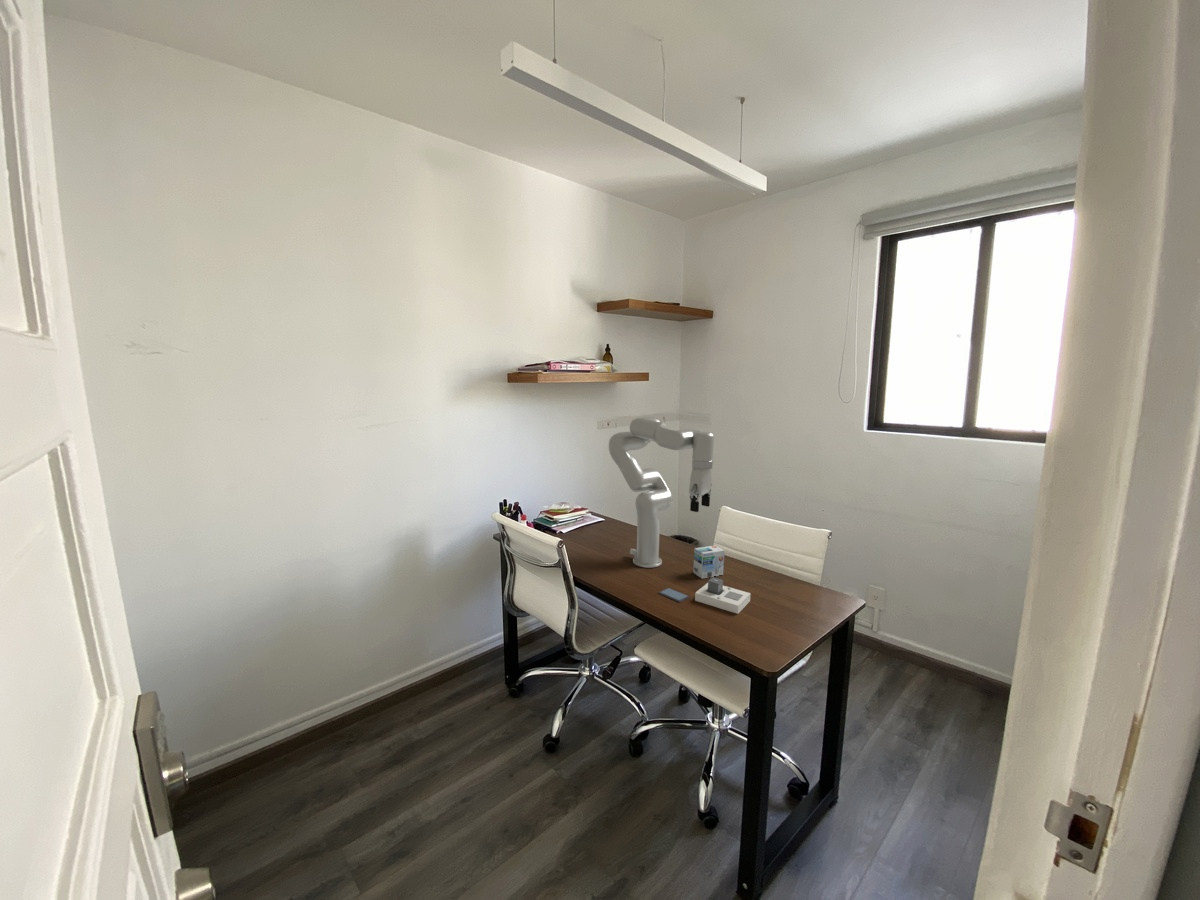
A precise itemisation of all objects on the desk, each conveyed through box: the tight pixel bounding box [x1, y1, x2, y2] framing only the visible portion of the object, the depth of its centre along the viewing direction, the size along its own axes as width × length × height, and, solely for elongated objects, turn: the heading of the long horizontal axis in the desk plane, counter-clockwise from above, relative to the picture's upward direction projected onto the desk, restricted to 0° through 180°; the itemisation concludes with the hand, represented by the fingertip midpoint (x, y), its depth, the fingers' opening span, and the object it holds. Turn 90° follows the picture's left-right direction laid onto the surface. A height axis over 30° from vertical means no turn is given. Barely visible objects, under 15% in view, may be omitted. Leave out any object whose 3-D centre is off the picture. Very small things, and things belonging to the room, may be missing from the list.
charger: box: [707, 577, 724, 595], centre depth 174 cm, size 4×4×7 cm
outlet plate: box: [694, 582, 751, 614], centre depth 173 cm, size 16×12×3 cm
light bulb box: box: [692, 544, 725, 579], centre depth 196 cm, size 11×7×11 cm, turn 112°
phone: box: [657, 587, 691, 603], centre depth 177 cm, size 10×6×1 cm, turn 44°
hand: (700, 508), depth 183 cm, fingers open, 9 cm apart
